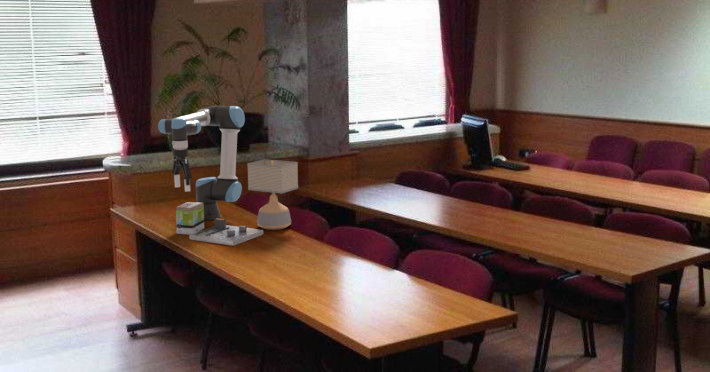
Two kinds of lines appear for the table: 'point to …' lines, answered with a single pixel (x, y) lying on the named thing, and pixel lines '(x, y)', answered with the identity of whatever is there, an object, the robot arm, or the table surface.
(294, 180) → the desk lamp
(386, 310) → the table surface
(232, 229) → the console
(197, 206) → the tea box
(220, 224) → the cap
